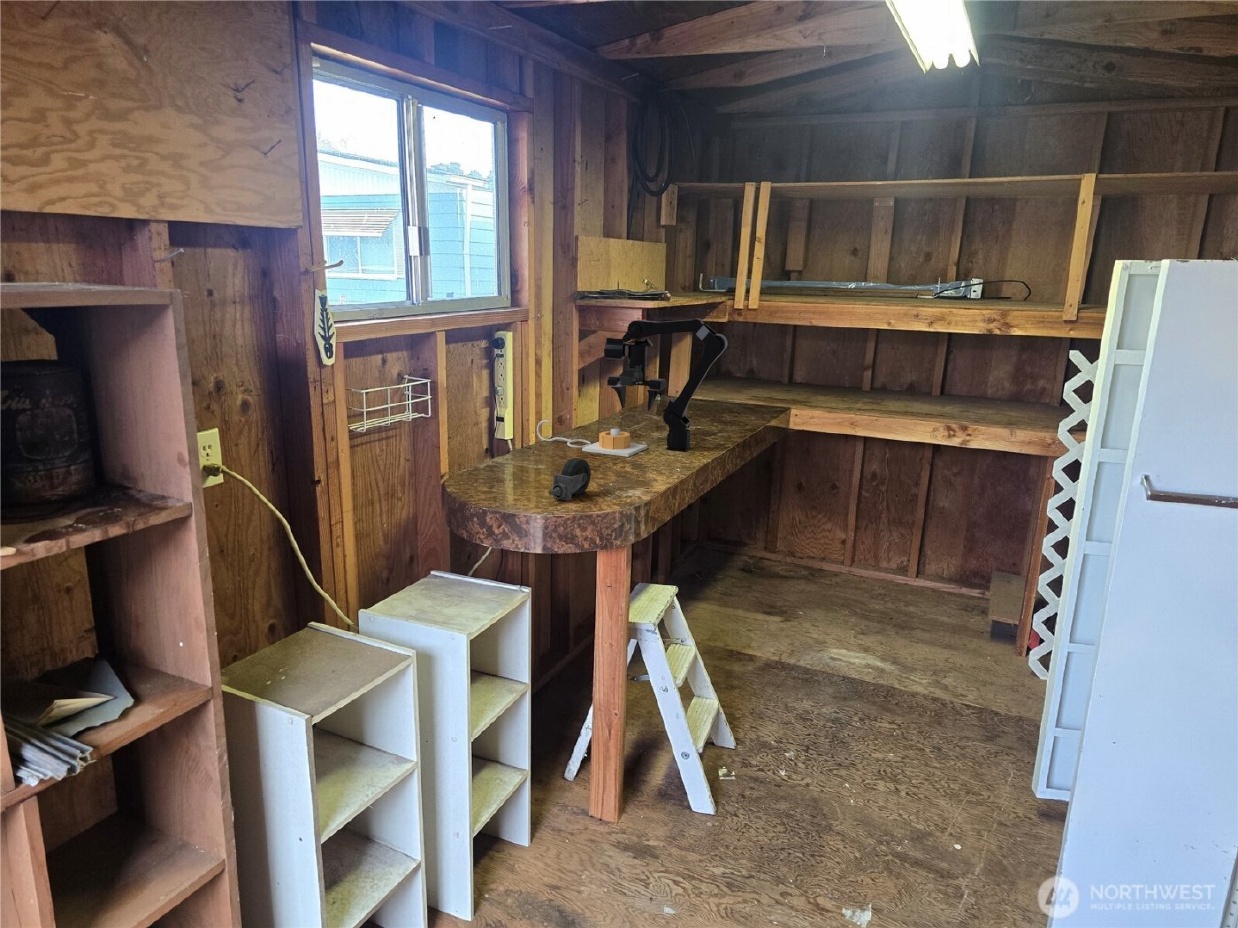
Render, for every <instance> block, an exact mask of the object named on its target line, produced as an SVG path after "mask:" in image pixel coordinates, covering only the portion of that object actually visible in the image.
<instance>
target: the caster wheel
mask: <svg viewBox="0 0 1238 928" xmlns="http://www.w3.org/2000/svg"><path fill="white" fill-rule="evenodd" d="M591 472H592V471H591V467H590V464H589V462H588V461H587V460H586V459H583V458H578V457H572V458H570V459H568V460H567V461H566V462H565V463H564V465H563V468H562V470H561V472H560V473H557V474H556V473H555V474H553V481H552V489H551V490H548V495H549V496H552V495H553V498H554V499H555V498H557V499H556V500H560V499H562V500H561V501H565V500H566V502H569V501H572V495H574V496H580V495H582V494H584V493H586V491H587V489H588V487H589V484H590V482H591V475H592V473H591Z"/></svg>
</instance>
